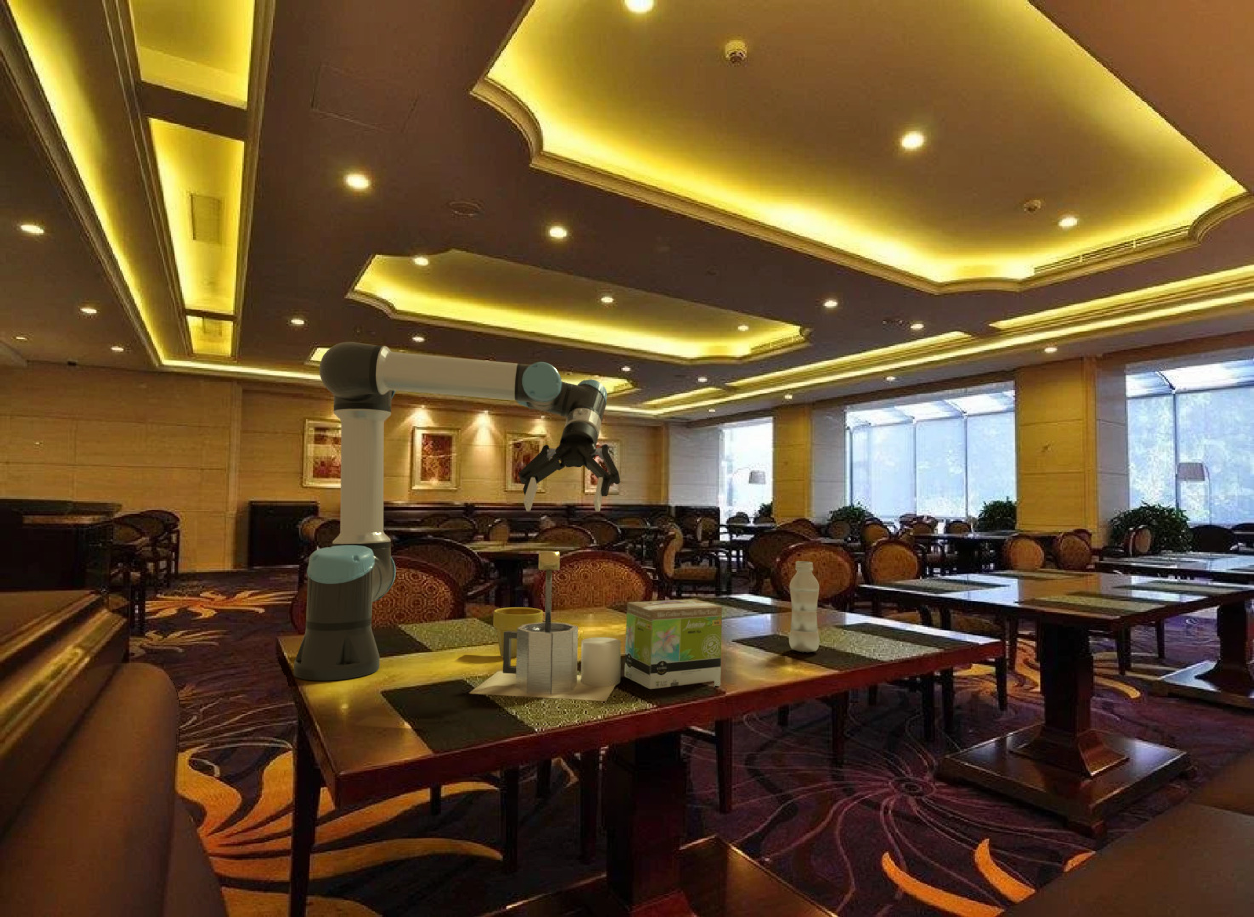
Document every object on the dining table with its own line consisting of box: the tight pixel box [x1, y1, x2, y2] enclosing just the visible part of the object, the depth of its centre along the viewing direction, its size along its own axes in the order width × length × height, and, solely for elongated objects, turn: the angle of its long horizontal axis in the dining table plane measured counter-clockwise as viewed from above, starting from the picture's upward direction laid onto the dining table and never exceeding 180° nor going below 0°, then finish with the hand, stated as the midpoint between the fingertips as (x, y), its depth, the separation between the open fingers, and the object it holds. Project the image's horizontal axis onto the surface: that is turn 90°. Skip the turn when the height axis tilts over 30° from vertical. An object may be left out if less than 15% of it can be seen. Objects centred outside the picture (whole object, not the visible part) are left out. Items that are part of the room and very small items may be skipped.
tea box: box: [624, 599, 723, 690], centre depth 125 cm, size 15×10×15 cm, turn 117°
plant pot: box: [492, 606, 544, 658], centre depth 144 cm, size 10×10×10 cm
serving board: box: [469, 670, 616, 702], centre depth 119 cm, size 23×15×1 cm, turn 82°
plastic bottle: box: [788, 560, 820, 653], centre depth 154 cm, size 6×7×20 cm
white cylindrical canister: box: [580, 636, 622, 687], centre depth 122 cm, size 7×7×7 cm
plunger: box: [533, 550, 561, 632], centre depth 119 cm, size 7×7×15 cm
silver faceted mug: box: [502, 621, 579, 695], centre depth 118 cm, size 13×10×10 cm
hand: (561, 506), depth 129 cm, fingers open, 13 cm apart
